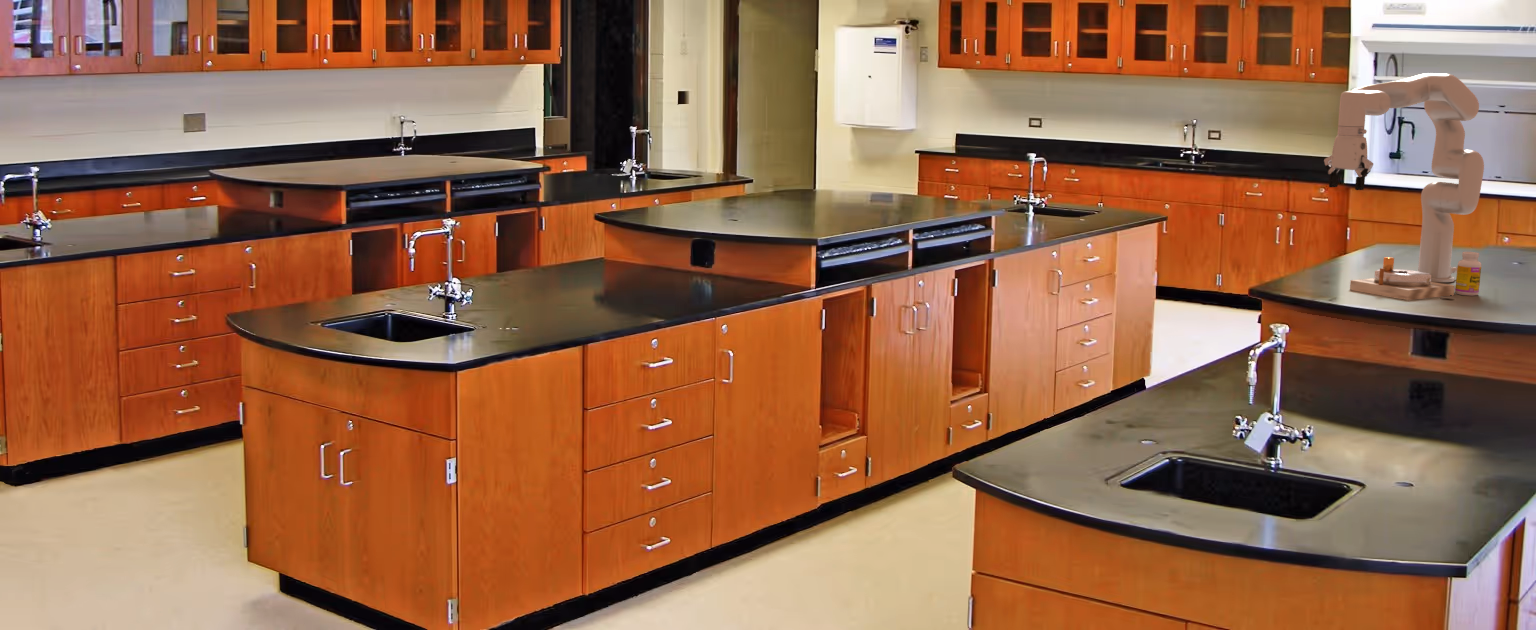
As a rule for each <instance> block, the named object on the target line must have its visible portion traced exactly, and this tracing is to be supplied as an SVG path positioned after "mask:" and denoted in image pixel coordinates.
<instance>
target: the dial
mask: <svg viewBox="0 0 1536 630" xmlns="http://www.w3.org/2000/svg"><path fill="white" fill-rule="evenodd" d="M1394 266H1395V257H1388V256H1386V257H1385V256H1384V257H1383V264H1382V268H1384V276H1383V284H1386V285H1394V286H1408V287H1422V286H1429V285H1431V274H1429V273H1425V272H1420V271H1418V270H1413V269H1411V270H1409V269H1394ZM1379 273H1380V269H1376V270H1375V271H1374V277H1373V278H1374V281H1375V282H1377V283H1379Z"/></svg>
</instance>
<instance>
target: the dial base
mask: <svg viewBox="0 0 1536 630" xmlns="http://www.w3.org/2000/svg"><path fill="white" fill-rule="evenodd" d="M1379 270H1380V273H1379V283H1377V282H1375V281H1374V277H1371V278H1361V279H1360V278H1359V279H1352V280H1350V282H1349V284H1350V285H1349V286H1350V287H1349V291H1354V292H1359V293H1365V294H1372V295H1377V296H1383V297H1389V298H1395V299H1400V300H1404V301H1405V300H1406V301H1410V300H1411V301H1412V300H1421V299H1431V298H1441V296H1442V297H1449V296H1450V295H1452V296H1454V295H1455V294H1454V293H1455V285H1453V284H1447V283H1443V282H1431V285H1429V286H1422V287H1408V286H1394V285H1386V284H1383V276H1384V268H1383V267H1380V268H1379ZM1450 297H1451V296H1450Z"/></svg>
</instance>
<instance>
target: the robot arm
mask: <svg viewBox="0 0 1536 630" xmlns="http://www.w3.org/2000/svg"><path fill="white" fill-rule="evenodd" d="M1339 98H1340V99H1339V109H1338V121H1337V122H1338V123H1337V125H1338V126H1337V135H1336V136H1335V138H1334V142H1333V146H1332V151H1331V154H1330V155H1329V156H1328V157H1325V158H1324V160H1323V162H1324V165H1325V169H1326V170H1327V174H1328V175H1329V181H1328V182H1329V183H1328V187H1329V188H1338V185H1339V171H1340V170H1345V171H1354V172H1355V173H1356V175H1357V176H1356V177H1355V185H1354V186H1355V187H1354V189H1355V190H1356V191H1364V189H1365V182H1366V181H1365V180H1366V177H1368V175H1369V173H1371V170H1372V168H1374V167H1373V166H1374V163H1373V162H1372V160H1370V159H1368V143H1367V137H1365V135H1366V134H1367V132H1368V130H1367V129H1365V125H1366V124H1365V123H1366V116H1374V117H1375V116H1376V117H1377V116H1382V115H1384V114H1386V113H1387V112H1388V111H1390V109H1400V108H1401V109H1402V108H1407V107H1410V106H1414V105H1417V104H1420V103H1423V107H1424V111H1425V113H1426V114H1427V117H1428V118H1429V119H1430V120H1431V122H1432V123H1433V126H1434V128H1435V142H1434V146H1433V147H1434V148H1433V152H1432V153H1433V154H1432V160H1431V172H1432V174H1433V175H1434V176H1435V177H1438V178H1442V179H1443V178H1444V179H1451V180H1458V183H1454V182H1445V181H1434V182H1430V183H1428V184H1427V185H1425V186H1424V187H1423V189H1422V190H1421V193H1420V194H1421V195H1420V202H1421V212H1422V214H1421V215H1422V222H1421V232H1420V244H1419V246H1420V247H1419V255H1418V267H1417V271H1420V272H1425V273H1429V274H1431V282H1436V283H1453V282H1455V280H1456V279H1455V277H1454V276H1453V275H1452V274H1457V267H1458V266H1457V267H1456V266H1454V267H1452V265H1451V264H1452V253H1453V243H1454V242H1453V241H1454V233H1455V231H1454V230H1455V223H1454V221H1453V218H1452V215H1451V214H1453V215H1462V216H1463V215H1464V216H1465V215H1469V214H1472V213H1473V212H1474V211H1475V210H1476V209H1477V206H1478V204H1479V200H1480V195H1481V188H1482V185H1483V184H1482V183H1483V178H1484V172H1485V171H1484V170H1485V162H1484V159H1483V156H1482V155H1481V153H1480V152H1479V151H1476V150H1473V149H1464V147H1465V137H1466V132H1465V129H1464V125H1463V124H1462V122H1466V121H1467V122H1468V121H1471V120H1472V119H1474V118H1475V117H1476V116H1477V115H1478V112H1479V110H1480V103H1479V100H1478V98H1477V95H1475V94H1474V93H1473V91H1471V89H1470V88H1469V87H1467V85H1466V84H1464V82H1463V81H1462V80H1461V79H1459V78H1458V77H1457V76H1455V75H1453V74H1452V73H1436V72H1435V73H1433V72H1430V73H1429V72H1427V73H1421V74H1417V75H1414V76H1409V77H1406V78H1403V79H1399V80H1392V81H1388V82H1381V83H1375V84H1369V85H1364V86H1361V87H1357V88H1352V89H1351V90H1347V91H1346V90H1345V91H1343V92H1341V94H1340V97H1339Z"/></svg>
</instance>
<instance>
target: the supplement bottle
mask: <svg viewBox="0 0 1536 630" xmlns="http://www.w3.org/2000/svg"><path fill="white" fill-rule="evenodd" d="M1461 257H1462V259H1460V260H1459V261H1458V263H1457V273H1456V279H1455V285H1454V293H1455V294H1456V295H1459V296H1460V295H1461V296H1468V297H1469V296H1470V297H1472V296H1473V297H1474V296H1479V293H1480V284H1481V273H1482V262H1480V261H1479V257H1480V253H1479V252H1474V251H1463V252H1462V254H1461Z"/></svg>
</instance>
